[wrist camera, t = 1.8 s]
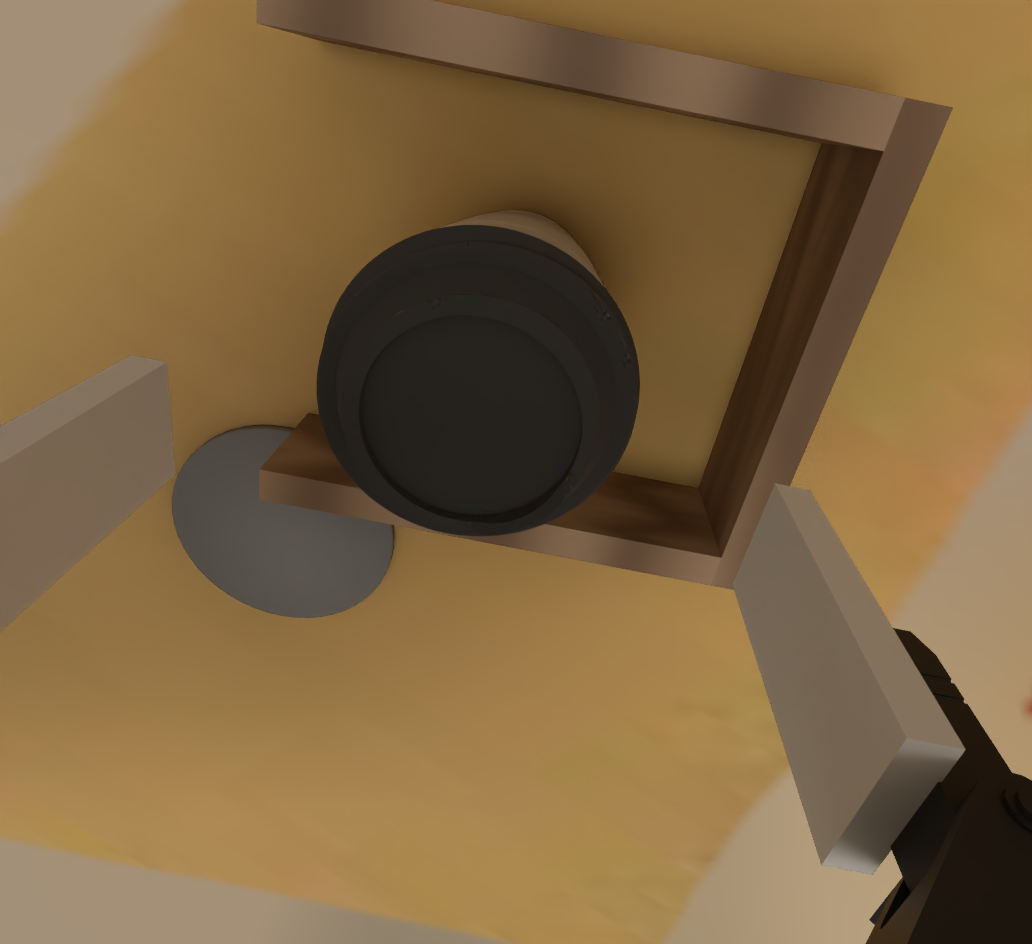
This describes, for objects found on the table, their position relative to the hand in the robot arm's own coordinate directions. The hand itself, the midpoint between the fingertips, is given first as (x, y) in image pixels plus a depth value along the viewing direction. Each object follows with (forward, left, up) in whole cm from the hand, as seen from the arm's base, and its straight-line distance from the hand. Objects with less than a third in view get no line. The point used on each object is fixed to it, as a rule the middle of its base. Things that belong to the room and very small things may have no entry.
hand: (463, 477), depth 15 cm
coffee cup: (0, 0, -18) cm, 18 cm away
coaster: (-10, -15, -18) cm, 25 cm away
